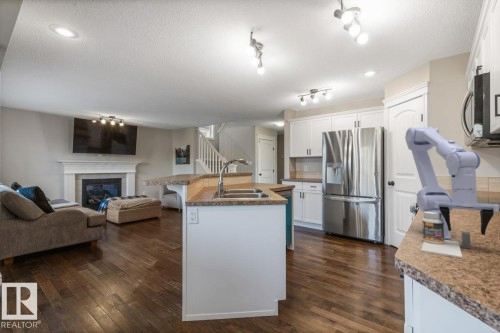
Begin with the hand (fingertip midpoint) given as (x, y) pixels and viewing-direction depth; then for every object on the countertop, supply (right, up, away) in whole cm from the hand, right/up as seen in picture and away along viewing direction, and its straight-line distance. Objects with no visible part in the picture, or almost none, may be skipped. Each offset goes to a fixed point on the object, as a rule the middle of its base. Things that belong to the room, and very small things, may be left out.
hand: (465, 232), depth 71 cm
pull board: (-6, -5, 0) cm, 8 cm away
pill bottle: (-6, -5, +5) cm, 9 cm away
